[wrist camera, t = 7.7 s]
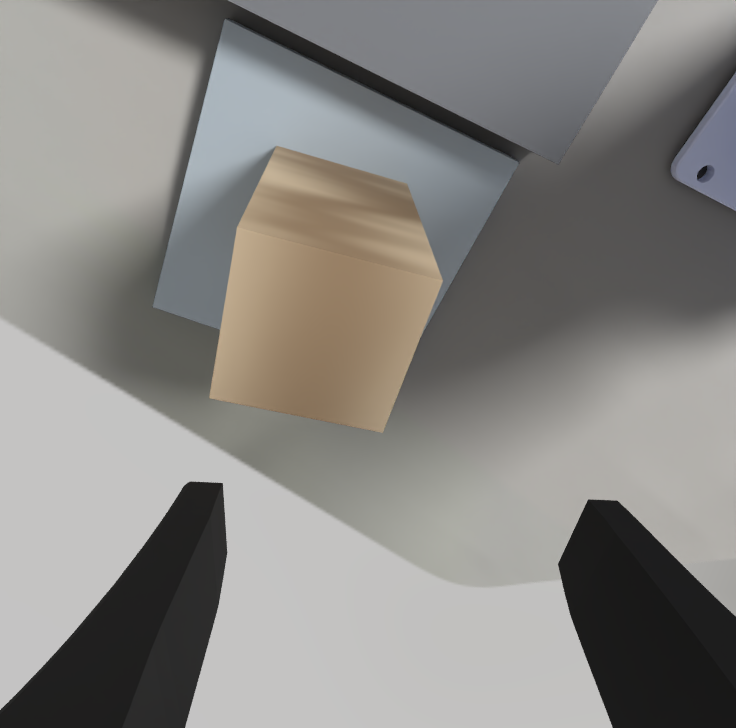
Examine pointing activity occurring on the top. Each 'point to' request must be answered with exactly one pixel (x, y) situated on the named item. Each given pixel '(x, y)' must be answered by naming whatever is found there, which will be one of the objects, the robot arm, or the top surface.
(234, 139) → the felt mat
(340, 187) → the oak block
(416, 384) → the top surface
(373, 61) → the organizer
